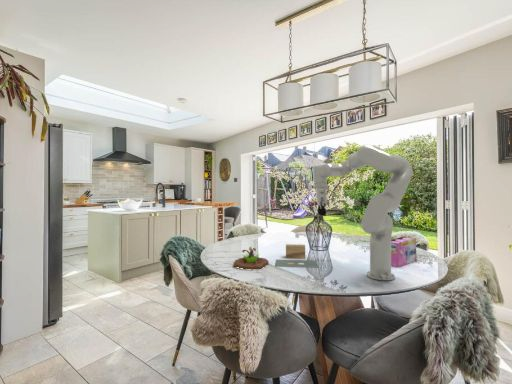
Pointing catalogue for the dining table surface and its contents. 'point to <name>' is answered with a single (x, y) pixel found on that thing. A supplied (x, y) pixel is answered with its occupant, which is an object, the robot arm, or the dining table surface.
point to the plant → (251, 261)
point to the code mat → (296, 263)
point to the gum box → (403, 251)
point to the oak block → (295, 251)
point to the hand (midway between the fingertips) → (321, 215)
